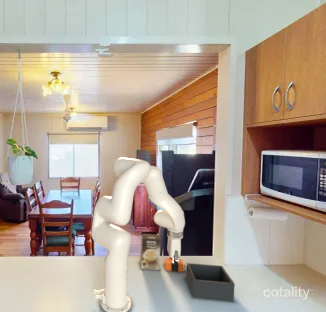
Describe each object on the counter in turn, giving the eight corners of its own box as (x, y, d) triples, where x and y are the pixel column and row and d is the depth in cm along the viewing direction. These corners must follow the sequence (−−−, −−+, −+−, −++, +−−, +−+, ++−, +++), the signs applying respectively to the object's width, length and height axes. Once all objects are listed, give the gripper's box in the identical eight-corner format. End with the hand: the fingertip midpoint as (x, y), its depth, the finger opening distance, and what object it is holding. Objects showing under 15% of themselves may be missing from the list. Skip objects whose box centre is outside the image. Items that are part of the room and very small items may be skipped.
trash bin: (193, 297, 102) (194, 280, 101) (186, 278, 116) (186, 263, 115) (233, 301, 100) (234, 284, 99) (221, 281, 113) (222, 265, 112)
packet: (166, 270, 122) (166, 262, 122) (164, 264, 127) (165, 257, 127) (185, 271, 121) (185, 264, 121) (182, 266, 126) (183, 259, 126)
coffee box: (141, 269, 123) (141, 238, 122) (139, 262, 130) (140, 233, 128) (159, 270, 123) (160, 239, 121) (157, 263, 129) (158, 234, 127)
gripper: (164, 226, 131) (163, 258, 133) (170, 240, 114) (168, 276, 116) (179, 227, 130) (178, 259, 132) (186, 241, 113) (185, 278, 115)
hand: (173, 266), depth 124 cm, fingers open, 5 cm apart
